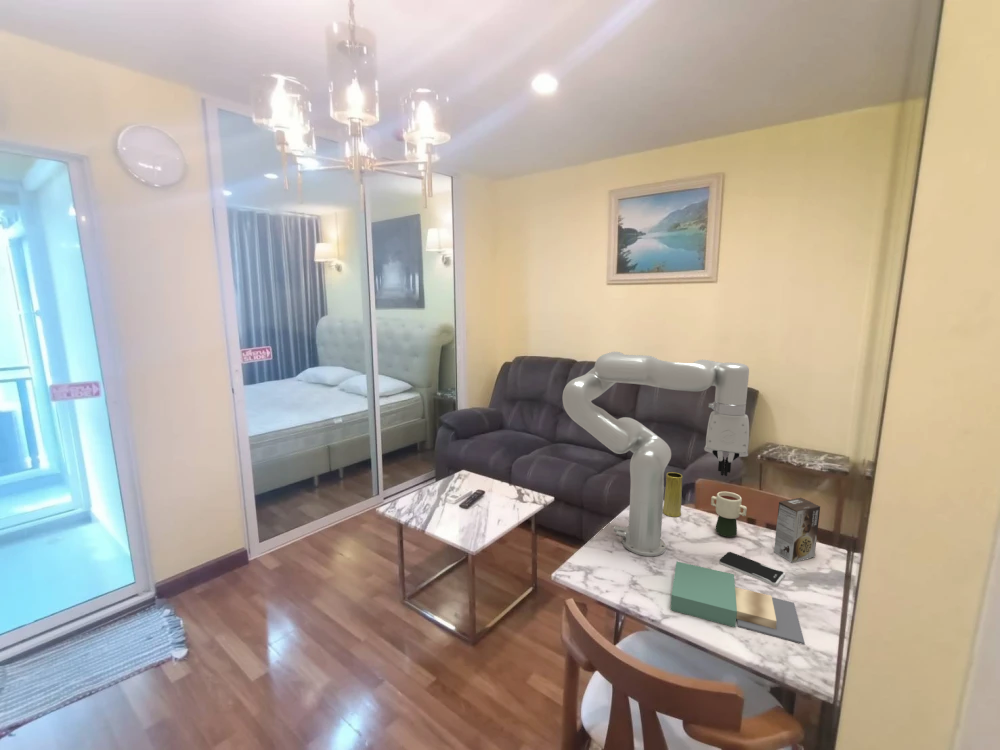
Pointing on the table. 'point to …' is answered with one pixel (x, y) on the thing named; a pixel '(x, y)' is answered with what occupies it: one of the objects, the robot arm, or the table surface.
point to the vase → (673, 495)
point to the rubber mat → (780, 622)
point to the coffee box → (796, 529)
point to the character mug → (728, 512)
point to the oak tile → (755, 608)
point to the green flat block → (704, 593)
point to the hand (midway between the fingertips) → (723, 474)
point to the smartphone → (752, 568)
